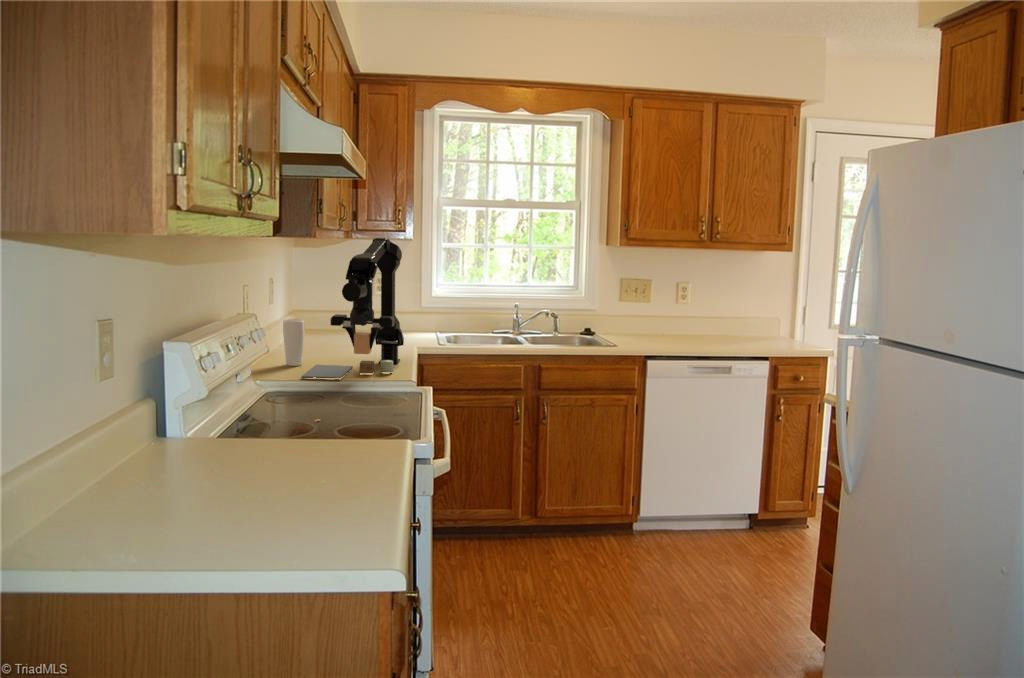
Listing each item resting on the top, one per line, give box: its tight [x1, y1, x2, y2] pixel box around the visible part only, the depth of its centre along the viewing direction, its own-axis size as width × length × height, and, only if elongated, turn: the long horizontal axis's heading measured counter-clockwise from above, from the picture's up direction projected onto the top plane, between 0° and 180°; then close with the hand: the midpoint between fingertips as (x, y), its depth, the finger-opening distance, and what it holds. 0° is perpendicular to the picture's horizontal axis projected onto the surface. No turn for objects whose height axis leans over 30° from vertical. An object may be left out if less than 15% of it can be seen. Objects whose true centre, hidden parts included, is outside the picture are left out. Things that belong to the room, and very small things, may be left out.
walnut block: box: [359, 360, 375, 374], centre depth 252 cm, size 4×4×4 cm
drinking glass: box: [282, 318, 305, 367], centre depth 261 cm, size 7×7×15 cm
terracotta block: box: [353, 331, 372, 355], centre depth 243 cm, size 4×4×6 cm
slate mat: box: [300, 364, 354, 378], centre depth 250 cm, size 18×12×1 cm, turn 0°
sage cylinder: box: [380, 360, 394, 373], centre depth 254 cm, size 4×4×4 cm
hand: (362, 348), depth 243 cm, fingers closed on terracotta block, 4 cm apart
